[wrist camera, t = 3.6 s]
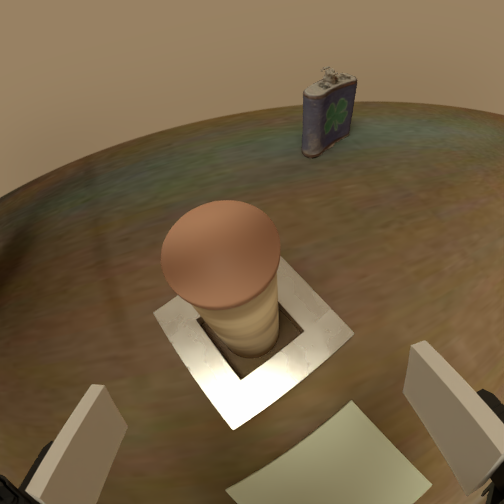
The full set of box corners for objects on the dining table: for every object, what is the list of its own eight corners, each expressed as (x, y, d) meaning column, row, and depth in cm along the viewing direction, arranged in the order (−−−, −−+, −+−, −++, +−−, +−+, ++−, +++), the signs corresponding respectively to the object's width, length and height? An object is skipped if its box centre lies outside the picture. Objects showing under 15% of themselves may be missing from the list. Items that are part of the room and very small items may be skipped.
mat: (226, 488, 17) (225, 490, 16) (349, 400, 20) (351, 400, 20) (316, 568, 11) (316, 570, 10) (429, 483, 14) (432, 484, 14)
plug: (209, 325, 25) (143, 242, 13) (256, 291, 26) (233, 184, 14) (244, 372, 22) (200, 331, 10) (293, 334, 24) (306, 252, 12)
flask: (312, 161, 35) (316, 82, 25) (294, 151, 36) (293, 74, 26) (353, 133, 37) (362, 65, 28) (336, 124, 39) (342, 58, 29)
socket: (159, 317, 26) (153, 312, 24) (262, 245, 29) (261, 236, 27) (235, 428, 20) (233, 430, 19) (350, 337, 23) (354, 333, 22)
